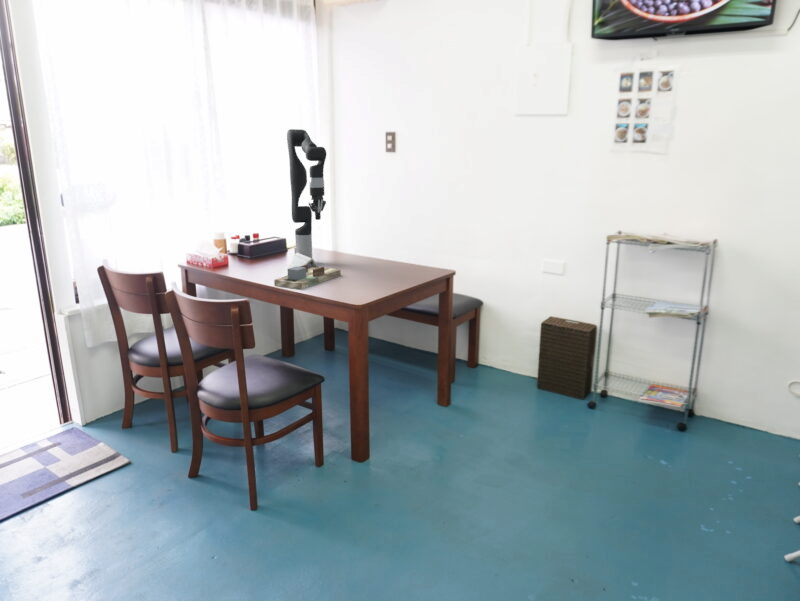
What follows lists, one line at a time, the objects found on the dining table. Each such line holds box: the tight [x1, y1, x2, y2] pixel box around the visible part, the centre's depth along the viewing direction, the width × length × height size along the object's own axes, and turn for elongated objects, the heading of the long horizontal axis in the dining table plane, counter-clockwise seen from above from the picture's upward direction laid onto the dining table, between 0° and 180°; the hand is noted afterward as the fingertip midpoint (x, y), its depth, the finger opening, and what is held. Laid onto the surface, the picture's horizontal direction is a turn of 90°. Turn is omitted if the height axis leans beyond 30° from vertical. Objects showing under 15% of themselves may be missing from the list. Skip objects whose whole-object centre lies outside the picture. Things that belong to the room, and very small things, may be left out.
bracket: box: [290, 253, 320, 268], centre depth 317 cm, size 13×10×20 cm
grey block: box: [287, 266, 306, 280], centre depth 283 cm, size 6×7×5 cm
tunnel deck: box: [273, 265, 342, 290], centre depth 291 cm, size 16×35×6 cm, turn 153°
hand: (317, 219), depth 301 cm, fingers closed
